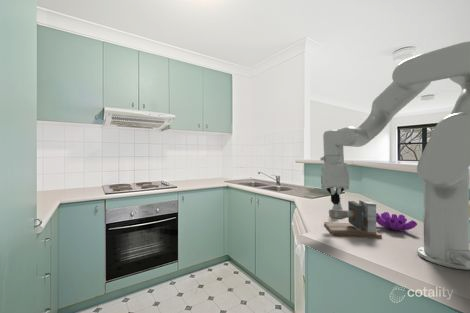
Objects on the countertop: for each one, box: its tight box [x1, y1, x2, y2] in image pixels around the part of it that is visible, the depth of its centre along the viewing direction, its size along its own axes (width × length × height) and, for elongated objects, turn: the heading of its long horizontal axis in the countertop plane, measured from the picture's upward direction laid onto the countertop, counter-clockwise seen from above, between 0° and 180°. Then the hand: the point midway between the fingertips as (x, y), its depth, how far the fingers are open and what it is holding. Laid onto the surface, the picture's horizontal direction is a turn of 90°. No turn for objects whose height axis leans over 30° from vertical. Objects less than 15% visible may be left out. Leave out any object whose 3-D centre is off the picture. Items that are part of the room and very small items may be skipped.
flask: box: [331, 197, 344, 219], centre depth 109 cm, size 7×7×10 cm
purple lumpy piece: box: [376, 211, 418, 231], centre depth 90 cm, size 11×15×10 cm
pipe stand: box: [323, 199, 383, 239], centre depth 87 cm, size 14×17×12 cm
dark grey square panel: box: [347, 200, 362, 229], centre depth 87 cm, size 9×2×9 cm, turn 171°
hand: (335, 203), depth 88 cm, fingers closed
